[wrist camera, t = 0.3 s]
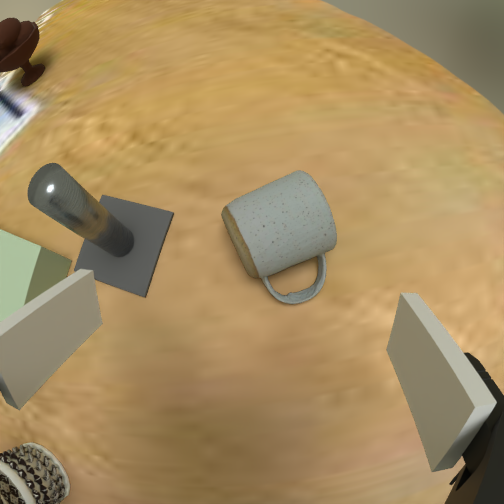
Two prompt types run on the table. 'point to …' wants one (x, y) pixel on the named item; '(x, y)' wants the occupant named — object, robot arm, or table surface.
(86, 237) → the pin
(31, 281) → the socket block
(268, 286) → the ceramic mug
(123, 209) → the mat
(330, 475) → the table surface
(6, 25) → the ice cream bowl
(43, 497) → the decorative candle
